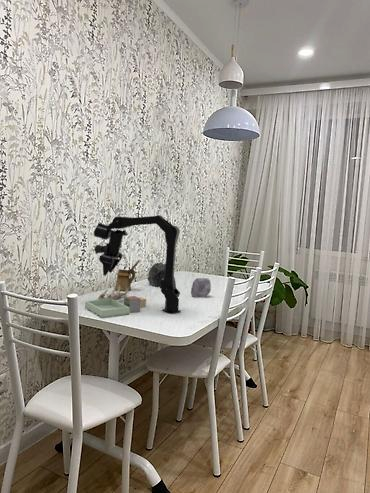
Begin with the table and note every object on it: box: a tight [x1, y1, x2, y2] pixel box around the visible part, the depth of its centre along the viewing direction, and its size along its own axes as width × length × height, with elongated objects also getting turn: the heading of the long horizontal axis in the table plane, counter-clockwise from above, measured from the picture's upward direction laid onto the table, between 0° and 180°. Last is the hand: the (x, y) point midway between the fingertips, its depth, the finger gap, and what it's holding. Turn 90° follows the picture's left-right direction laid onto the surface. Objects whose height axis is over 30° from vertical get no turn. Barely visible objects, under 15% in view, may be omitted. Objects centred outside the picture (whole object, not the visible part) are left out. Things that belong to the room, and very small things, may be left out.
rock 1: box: [147, 262, 166, 287], centre depth 237 cm, size 16×14×15 cm
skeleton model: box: [97, 285, 129, 301], centre depth 196 cm, size 24×13×5 cm, turn 4°
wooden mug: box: [114, 259, 140, 292], centre depth 218 cm, size 9×14×18 cm, turn 84°
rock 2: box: [190, 277, 212, 298], centre depth 213 cm, size 10×6×10 cm, turn 118°
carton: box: [137, 296, 147, 309], centre depth 184 cm, size 4×4×4 cm
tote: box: [84, 299, 131, 319], centre depth 171 cm, size 18×13×3 cm
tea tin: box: [123, 295, 141, 314], centre depth 174 cm, size 6×6×6 cm
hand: (107, 274), depth 182 cm, fingers open, 9 cm apart
